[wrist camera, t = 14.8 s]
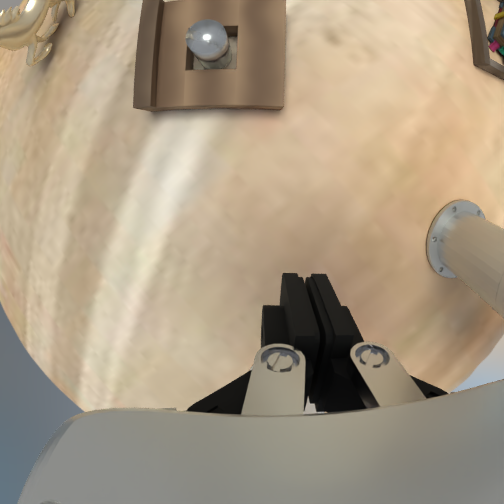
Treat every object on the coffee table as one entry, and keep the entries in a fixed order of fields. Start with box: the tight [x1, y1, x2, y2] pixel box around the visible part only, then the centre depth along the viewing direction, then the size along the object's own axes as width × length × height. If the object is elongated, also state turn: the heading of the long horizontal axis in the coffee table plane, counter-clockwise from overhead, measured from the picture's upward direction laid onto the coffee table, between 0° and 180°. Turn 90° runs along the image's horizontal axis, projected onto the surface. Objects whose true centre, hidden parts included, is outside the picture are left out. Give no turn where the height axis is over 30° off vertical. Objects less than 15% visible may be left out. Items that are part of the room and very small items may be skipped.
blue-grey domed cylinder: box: [185, 19, 232, 69], centre depth 27 cm, size 4×4×8 cm
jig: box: [133, 0, 286, 112], centre depth 28 cm, size 16×14×6 cm
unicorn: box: [0, 0, 75, 66], centre depth 19 cm, size 20×4×17 cm, turn 155°
